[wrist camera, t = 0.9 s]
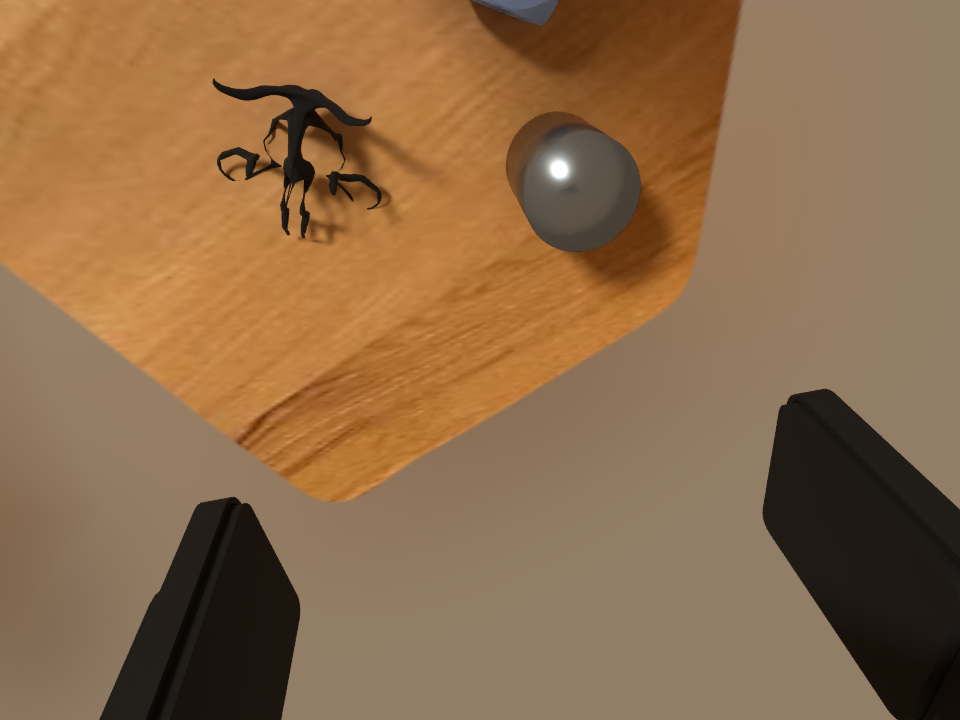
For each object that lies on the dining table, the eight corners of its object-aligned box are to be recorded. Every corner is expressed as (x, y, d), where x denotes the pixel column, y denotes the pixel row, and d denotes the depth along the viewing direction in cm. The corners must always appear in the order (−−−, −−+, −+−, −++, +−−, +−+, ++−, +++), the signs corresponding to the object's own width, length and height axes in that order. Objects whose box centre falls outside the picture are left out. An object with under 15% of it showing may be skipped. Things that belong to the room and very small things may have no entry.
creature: (375, 234, 32) (399, 87, 27) (365, 293, 28) (391, 135, 23) (225, 203, 30) (219, 41, 25) (193, 261, 26) (177, 84, 21)
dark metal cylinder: (498, 123, 28) (516, 147, 23) (598, 101, 28) (638, 122, 23) (513, 220, 31) (532, 261, 26) (605, 201, 31) (642, 239, 26)
